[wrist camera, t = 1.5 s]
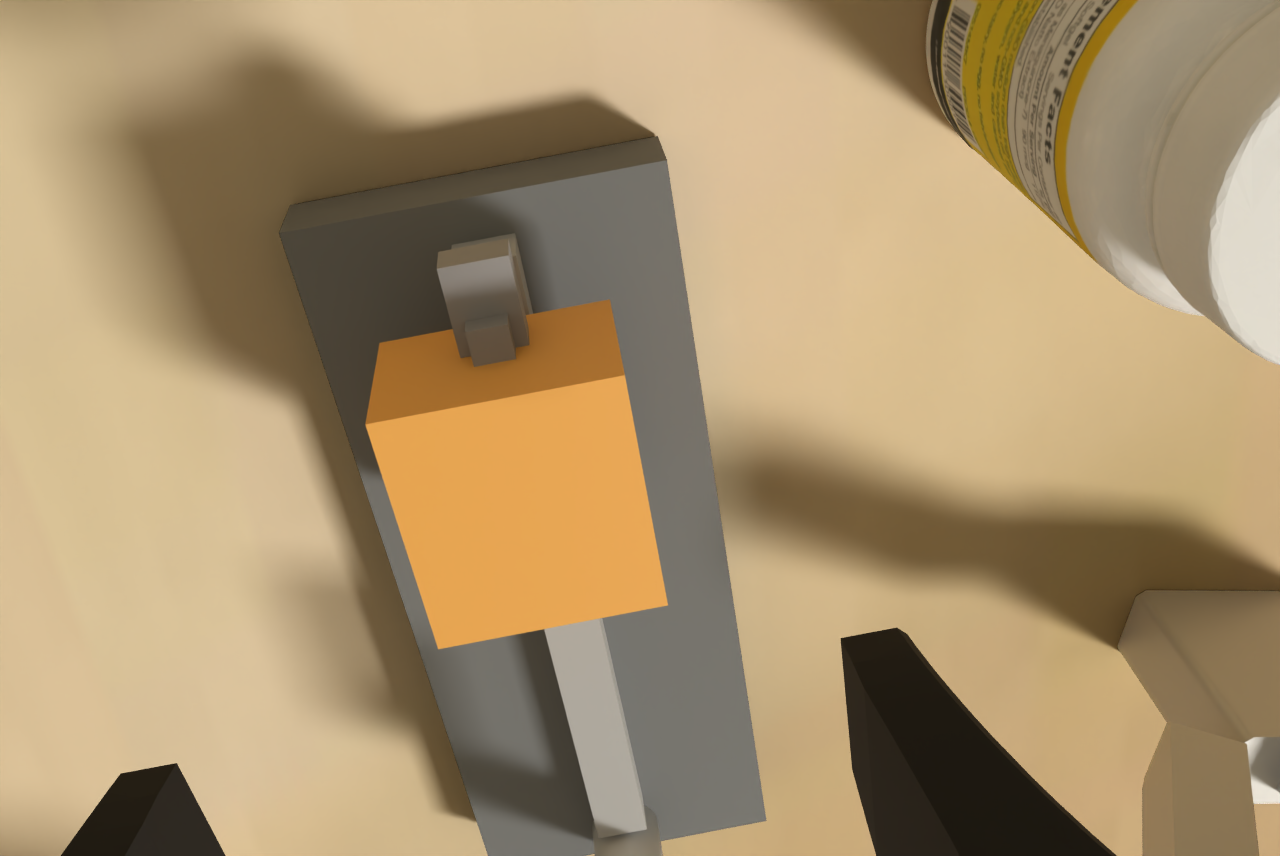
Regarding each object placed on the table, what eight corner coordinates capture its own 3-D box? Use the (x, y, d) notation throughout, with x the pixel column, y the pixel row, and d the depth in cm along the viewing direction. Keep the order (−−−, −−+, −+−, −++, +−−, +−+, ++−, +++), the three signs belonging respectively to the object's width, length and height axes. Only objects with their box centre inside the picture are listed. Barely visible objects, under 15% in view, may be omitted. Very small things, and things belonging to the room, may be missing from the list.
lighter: (1317, 591, 26) (1607, 904, 19) (1288, 652, 27) (1556, 972, 20) (1004, 589, 25) (1193, 917, 18) (985, 653, 26) (1159, 989, 19)
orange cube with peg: (650, 513, 20) (668, 605, 18) (444, 553, 20) (438, 649, 18) (594, 212, 17) (607, 280, 15) (353, 256, 17) (334, 331, 15)
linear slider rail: (755, 778, 27) (814, 1017, 22) (494, 829, 27) (494, 1079, 22) (657, 136, 20) (714, 283, 15) (290, 205, 19) (221, 377, 15)
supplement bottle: (1271, -14, 19) (1730, 153, 12) (1056, 216, 21) (1349, 483, 14) (1074, -219, 18) (1478, -163, 10) (856, 52, 19) (1074, 261, 12)
